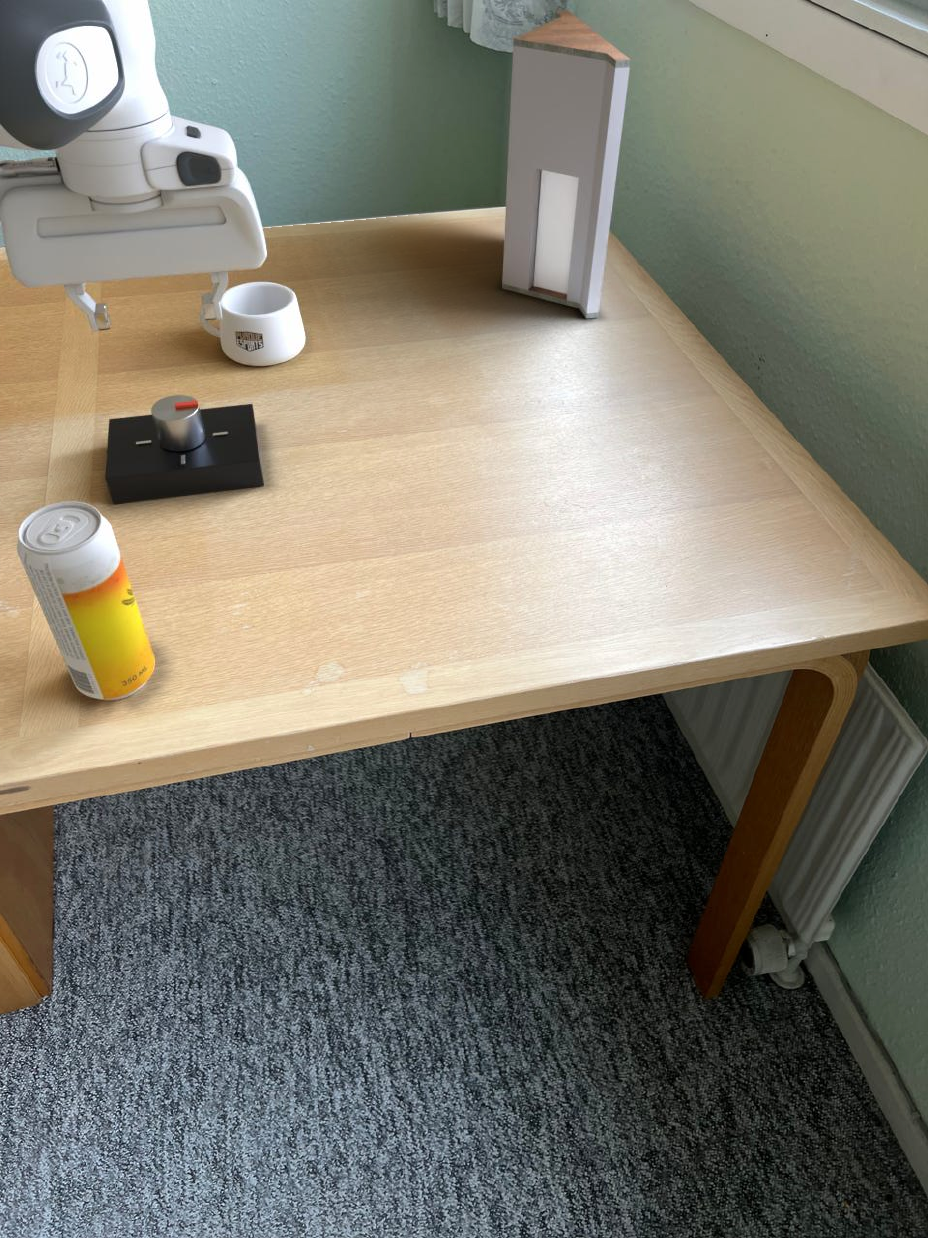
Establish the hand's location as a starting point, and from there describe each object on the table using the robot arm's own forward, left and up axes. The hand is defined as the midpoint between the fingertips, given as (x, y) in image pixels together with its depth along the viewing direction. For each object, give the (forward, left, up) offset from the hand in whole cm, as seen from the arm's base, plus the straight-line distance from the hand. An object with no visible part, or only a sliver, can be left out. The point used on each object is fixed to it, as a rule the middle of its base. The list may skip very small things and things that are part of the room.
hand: (158, 322), depth 80 cm
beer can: (-6, -27, -15) cm, 31 cm away
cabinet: (+45, +32, -15) cm, 57 cm away
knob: (0, 0, -12) cm, 12 cm away
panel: (0, 0, -15) cm, 15 cm away
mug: (+8, +22, -15) cm, 28 cm away
